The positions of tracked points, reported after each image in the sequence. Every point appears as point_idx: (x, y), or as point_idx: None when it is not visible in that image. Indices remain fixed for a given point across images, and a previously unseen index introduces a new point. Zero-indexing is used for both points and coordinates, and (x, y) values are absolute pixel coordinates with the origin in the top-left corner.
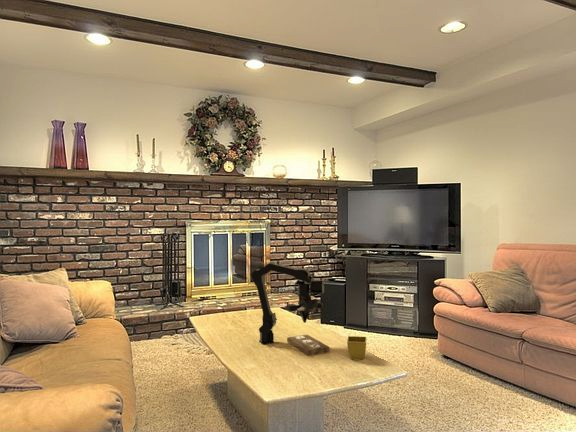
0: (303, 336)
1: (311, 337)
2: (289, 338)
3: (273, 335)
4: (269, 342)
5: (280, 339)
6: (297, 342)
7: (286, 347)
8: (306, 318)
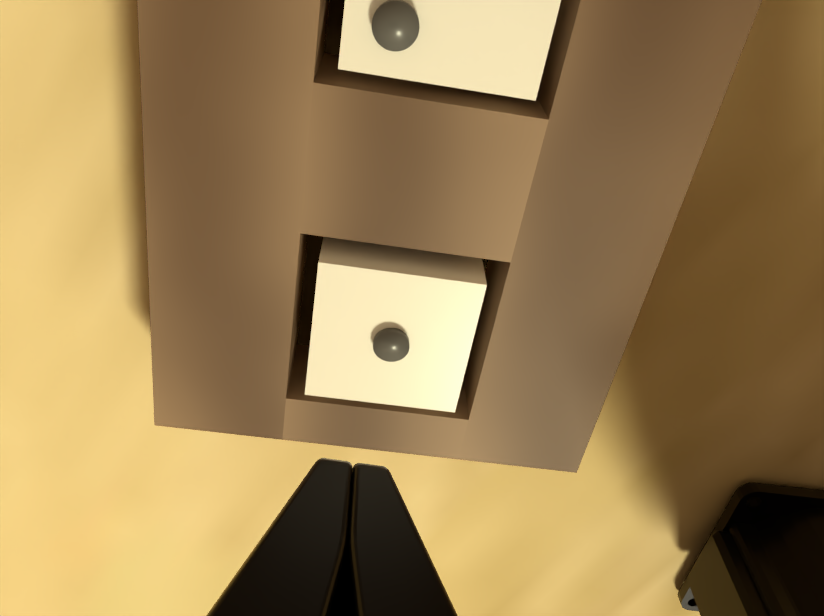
0: (285, 369)
1: (167, 224)
2: (585, 411)
3: (745, 602)
4: (814, 505)
5: (545, 550)
6: (666, 100)
7: (787, 199)
8: (266, 597)
